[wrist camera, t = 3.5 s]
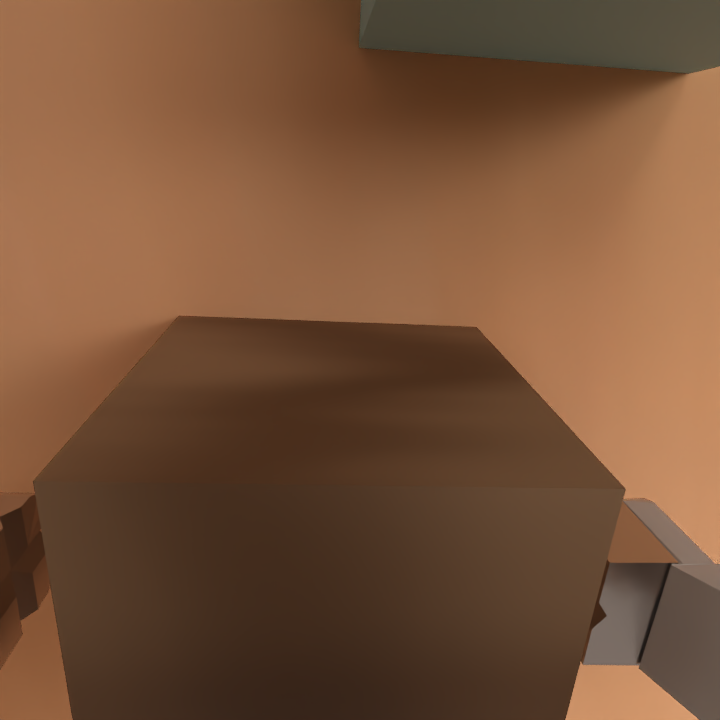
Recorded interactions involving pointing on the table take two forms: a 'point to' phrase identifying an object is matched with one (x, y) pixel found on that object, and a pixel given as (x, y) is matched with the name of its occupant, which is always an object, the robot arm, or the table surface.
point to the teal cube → (552, 31)
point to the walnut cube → (324, 531)
